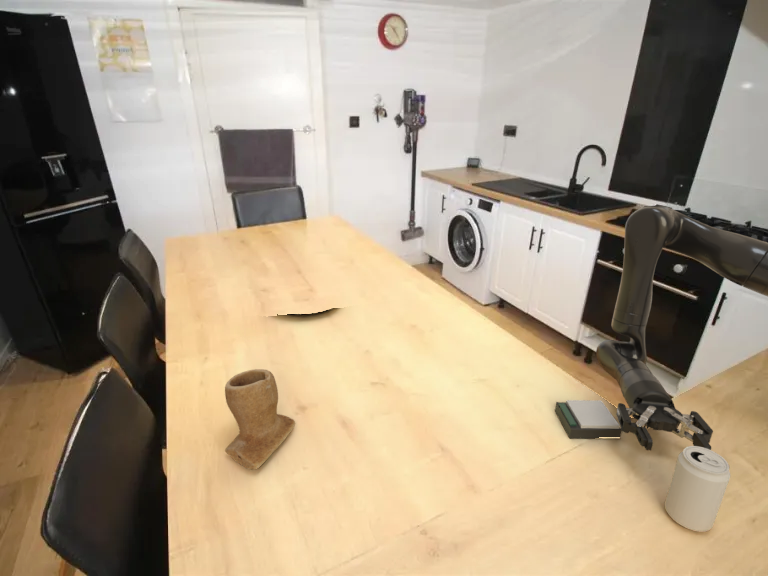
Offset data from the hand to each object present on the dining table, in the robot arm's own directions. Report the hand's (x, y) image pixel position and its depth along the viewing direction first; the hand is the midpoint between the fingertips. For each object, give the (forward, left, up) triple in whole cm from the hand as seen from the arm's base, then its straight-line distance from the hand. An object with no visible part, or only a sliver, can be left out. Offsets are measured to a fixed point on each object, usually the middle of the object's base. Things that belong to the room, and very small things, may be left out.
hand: (677, 449), depth 70 cm
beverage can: (+1, +7, -7) cm, 10 cm away
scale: (+8, -15, -7) cm, 19 cm away
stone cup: (+77, -8, -7) cm, 78 cm away
